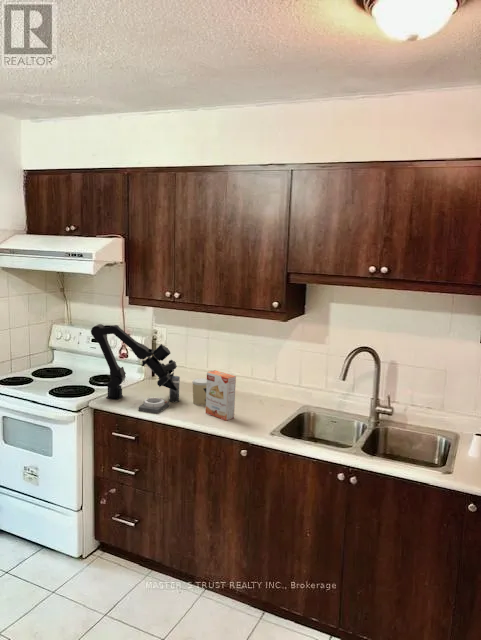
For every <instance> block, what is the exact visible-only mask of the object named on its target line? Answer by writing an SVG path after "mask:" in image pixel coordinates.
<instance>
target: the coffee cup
mask: <svg viewBox="0 0 481 640" xmlns="http://www.w3.org/2000/svg"><path fill="white" fill-rule="evenodd" d="M206 386H207V378H204V377H202V378H201V377H200V378H198V377H197V378H194V379H193V380H192V400H193V402H192V403H193V404H194V405H195V406H201V407H202V406H206Z"/></svg>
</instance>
